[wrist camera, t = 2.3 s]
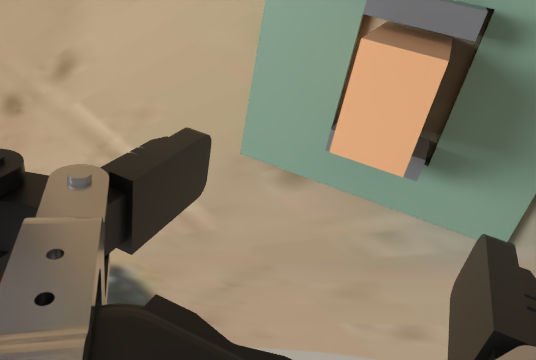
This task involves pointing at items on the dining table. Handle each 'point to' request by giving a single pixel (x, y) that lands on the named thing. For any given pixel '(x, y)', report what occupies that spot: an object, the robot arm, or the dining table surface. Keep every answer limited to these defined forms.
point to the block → (390, 95)
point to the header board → (447, 149)
